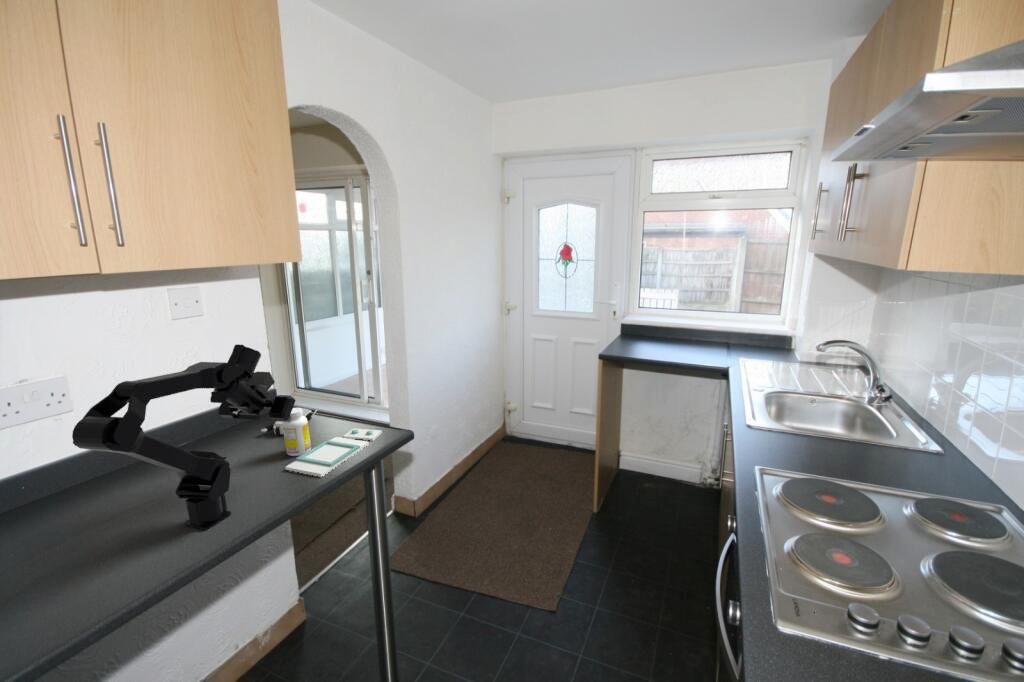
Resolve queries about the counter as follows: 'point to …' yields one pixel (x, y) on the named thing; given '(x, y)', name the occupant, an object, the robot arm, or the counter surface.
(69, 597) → the counter surface
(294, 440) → the supplement bottle
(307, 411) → the robot toy
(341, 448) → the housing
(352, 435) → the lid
